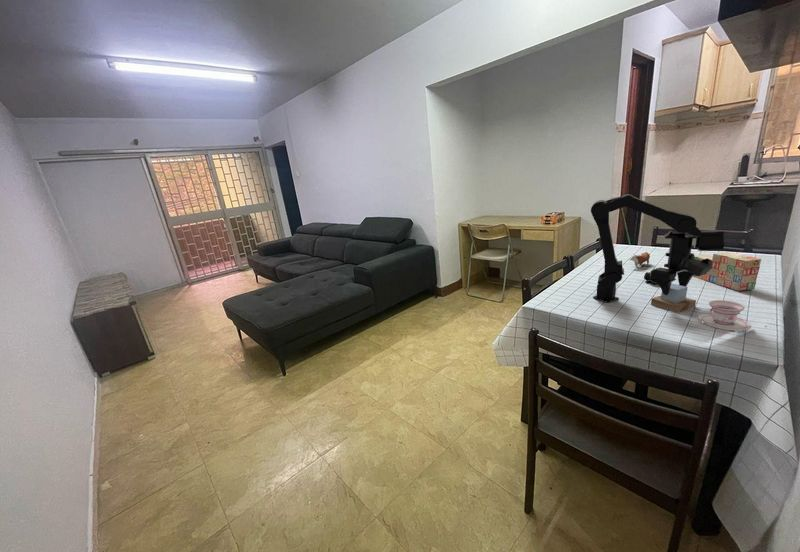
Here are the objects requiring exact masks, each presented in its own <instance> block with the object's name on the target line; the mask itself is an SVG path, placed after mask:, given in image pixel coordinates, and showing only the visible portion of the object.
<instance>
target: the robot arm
mask: <svg viewBox="0 0 800 552" xmlns="http://www.w3.org/2000/svg"><path fill="white" fill-rule="evenodd" d="M625 207H627V208H630V209H631V210H634V211H637V212H639V213H642V214H643V215H644V214H645V215H647V216H649V217H652V218H654V219H657V220H659V221H661V222H663V223H664V224H666V225H667V226H668V227H670V228H671V229H673V230H675V231H676V232H673V231H672V230H669V231H668V232H667V233H665V234H664V235H663V236H664V239H668V240H669V239H670V242H669V250H668V252H665V257H667V263H665V264H664V265H663V266H664V267H660V266H659V267H658V268H654V269H652V270H650V272H651V273H650V276H651V277H653V278H655V279H656V281H657V282H658V283H657V284H658V285H659V287H660V290H661V293H662V292H663V294H664V295H668V293H669V290H670V286H671V284H673V282H674V281H677V280H678V285H681V286H685V287H688V285H689V283H690V281H691V279H692V278H693V276H694V275H695V276H701V275H705V274H706V273H707V272H708V270H710V269H712V260H710V259H708V258H707V259H704V260H702V261H700V259H699V260H697V259H694V256H695V254H694V253H692V247H693V248H694V249H697V251H698V252H723V250H724V247H725V237H724V233H725V232H724V231H723V230H722V229H721V230H709V231H708V230H704V231H703V230H701V229H700V227H697V224H698V223H697V219H695V217H694V216H692V214H689V213H686V212H682V211H676V210H671V209H666V208H664V207H661V206H658V205H656V204H653V203H651V202H649V201H646V200H643V199H640V198H639V197H636V196H634V195H632V194H630V193H628V194H627V193H626V194H624V195H621V196H618V197H615V198H610V199H607V200H604V199H599V200H596V201H595V202H593V204H592V205H591V207H590V213H591V216H592V219H593V220H594V222H595V225H596V226H597V228H598V234H599V239H600V244H601V249H602V254H603V259H604V272H603V273H601V274H600V275H598V278H597V284H596V295H594V296H592V298H593V299H596V300H599V301H601V302H604V303H609V302H614V301H617V300H619V297H618V296H616V294H617V291H616V290H617V283H618V284H619V283H620V282H621V280H623V276H624V275H625V269H624V267H623V260H618V258H617V256H616V250H615V247H614V241H613V237H612V231H611V225H610V213H611V212H613V211H614V212H615V211H617V210H619V209H622V208H625ZM686 233H687V234H686ZM688 234H689V235H688Z"/></svg>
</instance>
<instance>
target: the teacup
mask: <svg viewBox="0 0 800 552" xmlns="http://www.w3.org/2000/svg"><path fill="white" fill-rule="evenodd" d="M708 305H709V306H710V307H711V308H710V309H709V313H704V314H699V316H698V318H697V319H698V321H699V322H700V323H702V324H704V325H706V326H709V327H712V328H716V329H719V330H725V331H726V330H727V331H734V332H735V331H736V332H737V331H747V330H750V329H751V328H752V323H751V322H749V321H748V320H746V319H744V318H741V317H738V315H741V312H743V311H744V310H745V309H746V306H745V305H744V304H743V303H741V302H737V301H733V300H723V299H722V300H720V299H719V300H711V301H709V302H708ZM714 320H715V321H714ZM732 323H733V325H730V324H732Z"/></svg>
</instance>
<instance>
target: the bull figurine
mask: <svg viewBox="0 0 800 552" xmlns="http://www.w3.org/2000/svg"><path fill="white" fill-rule="evenodd" d="M650 258H651V256H650V253H648V251H645V252H642V253H640V254H639V253H636V254H635V253H633V254H632V255H631V256H630V258H629V261H632V262H634V265H635V267H636V268H637V267H638V268H639V269H641V268H642V266H643V265H642V264H644V263H646V265H647V266H648V265H649V263H650Z"/></svg>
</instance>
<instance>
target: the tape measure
mask: <svg viewBox="0 0 800 552" xmlns="http://www.w3.org/2000/svg"><path fill="white" fill-rule="evenodd" d="M650 273H651V271H647V272H645V273H644V275H643V279H644V280H646V281H647V282H652V283H653V284H658V282H657V281H656V279H655V278H653V277H651V276H650Z"/></svg>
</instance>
